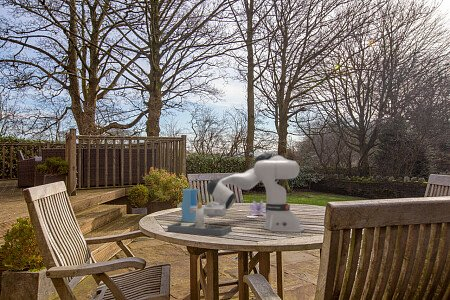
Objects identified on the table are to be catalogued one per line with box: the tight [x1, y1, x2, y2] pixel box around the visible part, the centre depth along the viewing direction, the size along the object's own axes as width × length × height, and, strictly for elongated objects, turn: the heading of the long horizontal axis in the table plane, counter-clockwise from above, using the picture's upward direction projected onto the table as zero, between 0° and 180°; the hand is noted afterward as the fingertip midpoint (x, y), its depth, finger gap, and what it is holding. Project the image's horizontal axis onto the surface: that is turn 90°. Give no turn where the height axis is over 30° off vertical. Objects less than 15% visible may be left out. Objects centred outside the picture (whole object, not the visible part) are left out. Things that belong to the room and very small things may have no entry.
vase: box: [180, 188, 199, 223], centre depth 229 cm, size 8×8×20 cm
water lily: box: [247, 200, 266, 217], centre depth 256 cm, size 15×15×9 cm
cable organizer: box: [167, 221, 233, 237], centre depth 193 cm, size 32×14×3 cm, turn 67°
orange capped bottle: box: [195, 202, 206, 228], centre depth 194 cm, size 5×5×14 cm
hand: (201, 212), depth 195 cm, fingers open, 8 cm apart
